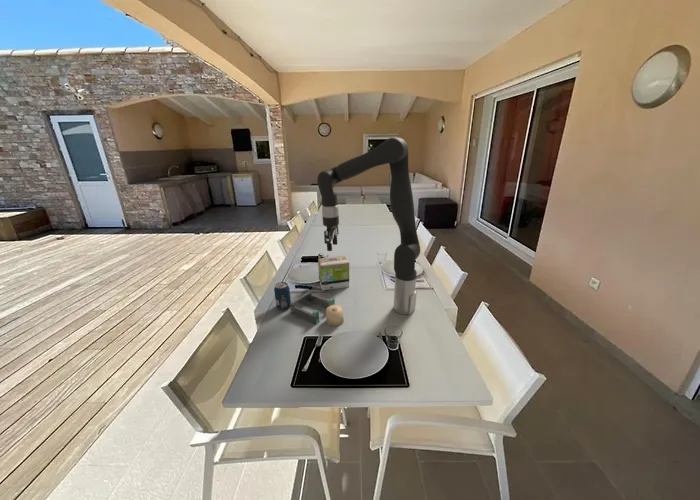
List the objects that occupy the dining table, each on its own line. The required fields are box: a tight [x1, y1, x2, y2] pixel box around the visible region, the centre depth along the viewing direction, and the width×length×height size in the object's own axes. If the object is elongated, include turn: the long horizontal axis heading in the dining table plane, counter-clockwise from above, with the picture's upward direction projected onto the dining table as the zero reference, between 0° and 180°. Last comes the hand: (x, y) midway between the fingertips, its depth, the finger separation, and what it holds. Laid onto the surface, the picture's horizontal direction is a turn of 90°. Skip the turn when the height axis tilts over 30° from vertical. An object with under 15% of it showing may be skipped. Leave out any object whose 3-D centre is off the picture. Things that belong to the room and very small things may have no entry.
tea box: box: [317, 255, 350, 292], centre depth 153 cm, size 15×10×15 cm, turn 105°
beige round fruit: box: [325, 304, 345, 327], centre depth 125 cm, size 7×7×6 cm
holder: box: [289, 291, 336, 326], centre depth 132 cm, size 16×13×6 cm
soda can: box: [273, 281, 292, 311], centre depth 134 cm, size 7×7×12 cm
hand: (332, 247), depth 138 cm, fingers open, 8 cm apart
